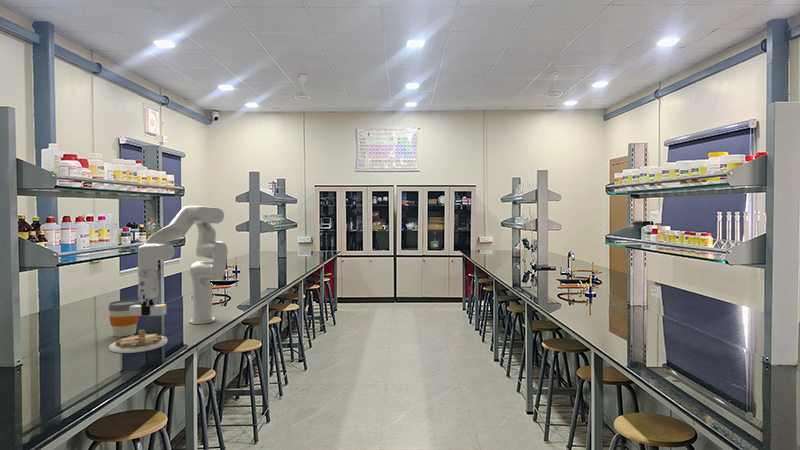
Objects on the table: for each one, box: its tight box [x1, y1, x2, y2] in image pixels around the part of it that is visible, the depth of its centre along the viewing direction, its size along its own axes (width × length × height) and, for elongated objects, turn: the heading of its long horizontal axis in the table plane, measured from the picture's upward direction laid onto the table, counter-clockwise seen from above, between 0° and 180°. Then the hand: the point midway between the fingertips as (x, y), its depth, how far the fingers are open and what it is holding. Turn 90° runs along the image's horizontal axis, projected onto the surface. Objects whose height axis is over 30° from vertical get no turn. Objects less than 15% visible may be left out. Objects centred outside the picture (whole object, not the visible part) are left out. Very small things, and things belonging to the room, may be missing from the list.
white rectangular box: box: [129, 303, 167, 317], centre depth 199 cm, size 4×14×4 cm, turn 95°
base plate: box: [108, 335, 168, 354], centre depth 196 cm, size 22×22×2 cm
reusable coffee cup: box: [108, 299, 140, 338], centre depth 212 cm, size 12×13×15 cm
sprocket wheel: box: [115, 329, 163, 348], centre depth 195 cm, size 17×17×6 cm
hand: (148, 313), depth 200 cm, fingers closed on white rectangular box, 4 cm apart
